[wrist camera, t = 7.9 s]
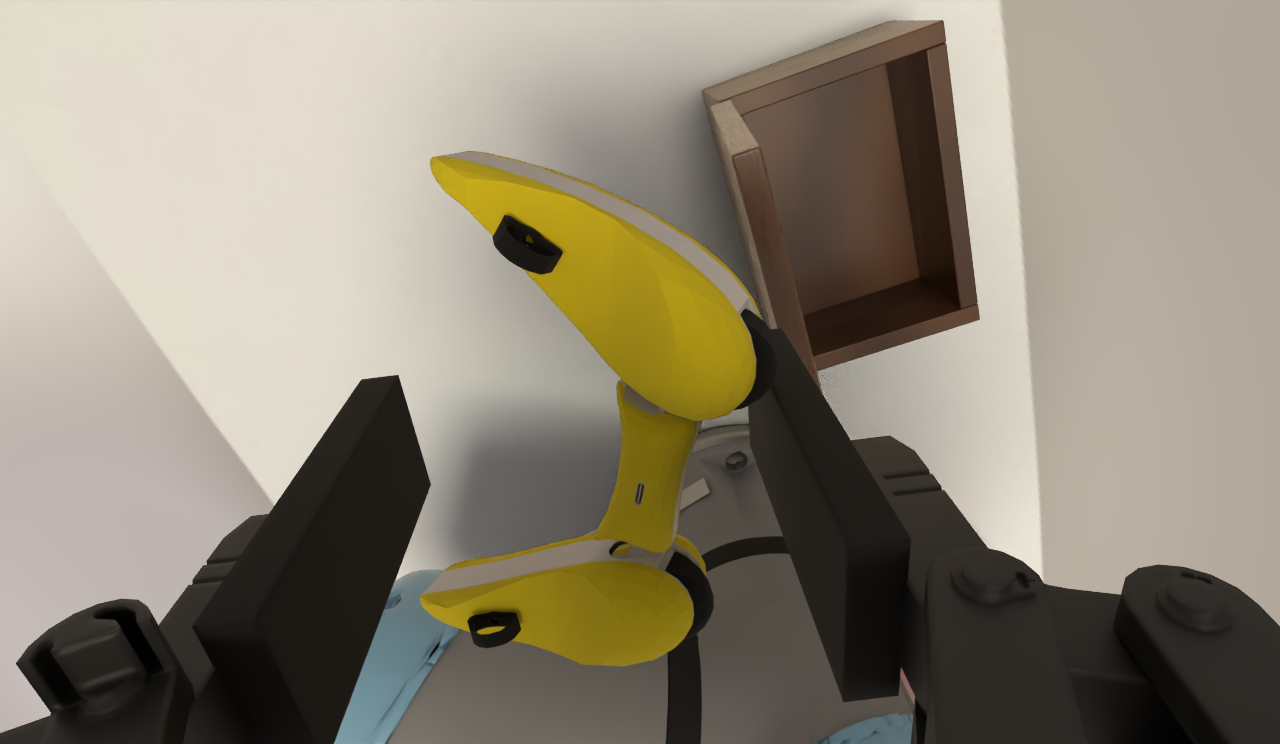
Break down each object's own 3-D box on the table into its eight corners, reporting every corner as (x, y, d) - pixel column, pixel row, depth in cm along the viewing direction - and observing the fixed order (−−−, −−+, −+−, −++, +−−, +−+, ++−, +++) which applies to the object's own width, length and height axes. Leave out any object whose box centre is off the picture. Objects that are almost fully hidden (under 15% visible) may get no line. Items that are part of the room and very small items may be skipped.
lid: (761, 145, 20) (730, 155, 20) (853, 518, 26) (829, 524, 26) (730, 98, 29) (709, 106, 29) (803, 381, 36) (786, 385, 36)
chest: (891, 20, 34) (944, 19, 29) (930, 281, 40) (980, 319, 35) (700, 90, 35) (718, 101, 30) (768, 334, 41) (792, 379, 36)
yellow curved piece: (714, 626, 16) (672, 749, 13) (479, 537, 18) (393, 630, 15) (827, 211, 12) (802, 254, 9) (506, 140, 14) (392, 157, 11)
